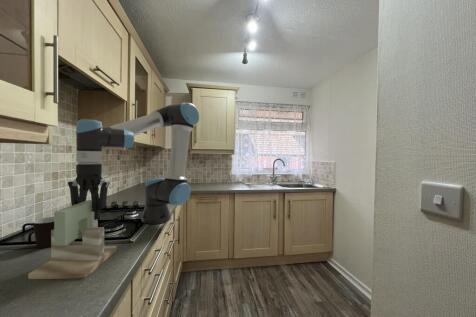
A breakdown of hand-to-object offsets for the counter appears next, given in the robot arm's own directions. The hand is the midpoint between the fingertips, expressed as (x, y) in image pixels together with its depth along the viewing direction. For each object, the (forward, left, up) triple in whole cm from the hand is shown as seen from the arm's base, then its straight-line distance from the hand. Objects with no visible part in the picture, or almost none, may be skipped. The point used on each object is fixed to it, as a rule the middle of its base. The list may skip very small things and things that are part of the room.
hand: (88, 228), depth 76 cm
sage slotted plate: (+5, 0, 0) cm, 6 cm away
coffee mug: (-11, -21, -10) cm, 26 cm away
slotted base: (+5, 0, -10) cm, 11 cm away
